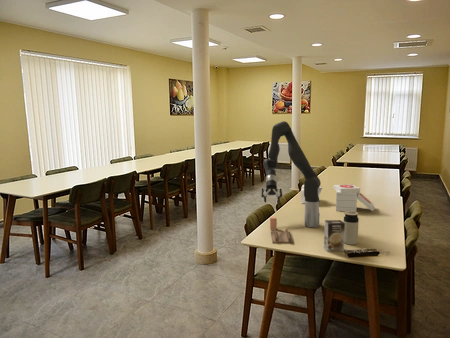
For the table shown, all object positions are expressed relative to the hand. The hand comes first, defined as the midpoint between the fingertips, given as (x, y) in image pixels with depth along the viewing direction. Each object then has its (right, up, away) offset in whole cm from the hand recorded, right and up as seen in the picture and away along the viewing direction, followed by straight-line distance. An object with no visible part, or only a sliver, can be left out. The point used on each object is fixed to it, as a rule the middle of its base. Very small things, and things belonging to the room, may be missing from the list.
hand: (272, 202), depth 236 cm
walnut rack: (+2, -19, -25) cm, 32 cm away
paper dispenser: (+68, -9, +34) cm, 77 cm away
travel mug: (+41, -20, -35) cm, 57 cm away
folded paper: (+42, -5, +61) cm, 74 cm away
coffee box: (+28, -22, -45) cm, 57 cm away
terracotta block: (0, -17, -9) cm, 19 cm away
